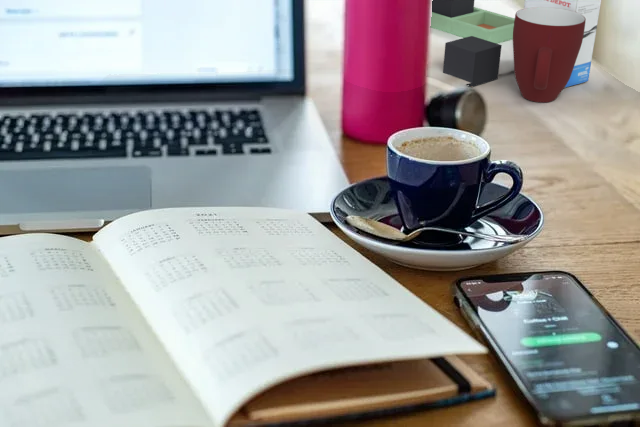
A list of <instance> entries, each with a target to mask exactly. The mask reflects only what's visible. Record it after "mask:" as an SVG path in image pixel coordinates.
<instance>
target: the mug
mask: <svg viewBox="0 0 640 427" xmlns="http://www.w3.org/2000/svg"><path fill="white" fill-rule="evenodd" d="M514 18H515V20H514V28H513V39H512V50H513V52H512V53H513V69H514V70H513V72H514V77H515V80H516V84H517V86H518V88H519V91H520V93H521V95H522V97H523V98H524V99H525V100H528V101H530V102H534V103H551V102H553V101H556V99H557V98H558V97H559V95H560V94H561V93H562V91H563V90H564V89H565V88H566V87H565V86H566V84H567V83H568V81H569V79H570V76H571V74H572V71H573V68H574V65H575V62H576V59H577V56H578V54H579V51H580V48H581V45H582V41H583V36H584V29H585V22H586V19H585V17H584V16H583V15H581V14H579V13H577V12H574V11H570V10H566V9H560V8H551V7H532V8H525V9H524V8H521V9H519V10H517V11H516V12H515V14H514ZM564 87H565V88H564Z"/></svg>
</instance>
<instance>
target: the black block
mask: <svg viewBox="0 0 640 427" xmlns="http://www.w3.org/2000/svg"><path fill="white" fill-rule="evenodd" d="M474 7H475V0H433V1H432V12H434V13H437V14H440V15H443V16H447V17H450V18H453V17H457V16H461V15H465V14H469V13H473V10H474Z"/></svg>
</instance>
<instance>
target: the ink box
mask: <svg viewBox="0 0 640 427" xmlns="http://www.w3.org/2000/svg"><path fill="white" fill-rule="evenodd" d="M601 4H602V0H524V2H523V9H525V8H532V7H551V8H560V9H566V10H570V11H574V12H577V13H579V14H581V15H583V16H584V17H585V19H586V22H585V29H584V36H583V41H582V45H581V48H580V51H579V54H578V56H577V59H576V62H575V65H574V68H573V71H572V74H571V76H570V79H569V81H568V83H567V84H566V86H565V87H564V89H565V88H569V87H572V86H576V85H580V84H584V83H586V82H589V78H590V73H591V65H592V60H593V54H594V47H595V42H596V36H597V29H598V22H599V16H600V11H601Z"/></svg>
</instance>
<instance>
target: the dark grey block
mask: <svg viewBox="0 0 640 427" xmlns="http://www.w3.org/2000/svg"><path fill="white" fill-rule="evenodd" d="M501 53H502V44H500V43H498V44H496V43H493V42H490V41H487V40H484V39H480V38H477V37H474V36H469V37H465V38H462V37H461V38H458V39H455V40H450V41H447V42H445V43H444V54H443V67H442V74H446V75H448V76H450V77H451V76H452V77H454V78H456V79H460V80H462V81H465V82H468V83H466V84H465V86H467V85H469V86H468V87H470V86H473V87H477V86H480V85H483V84H486V83H490V82H493V81H496V80H498V78H499V73H500V72H499V71H500V64H501ZM473 87H472V88H473Z"/></svg>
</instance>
